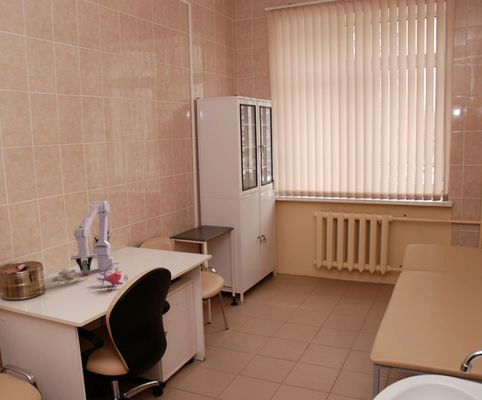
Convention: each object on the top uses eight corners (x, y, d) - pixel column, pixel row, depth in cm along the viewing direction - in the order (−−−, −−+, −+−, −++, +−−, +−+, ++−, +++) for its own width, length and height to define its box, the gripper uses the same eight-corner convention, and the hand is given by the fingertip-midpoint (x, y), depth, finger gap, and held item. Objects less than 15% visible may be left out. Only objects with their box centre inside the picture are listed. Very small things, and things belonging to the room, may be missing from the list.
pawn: (89, 271, 283) (88, 258, 282) (88, 273, 279) (87, 260, 278) (82, 272, 282) (81, 259, 281) (82, 273, 279) (80, 261, 277)
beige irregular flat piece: (95, 273, 295) (94, 267, 294) (92, 282, 278) (92, 275, 277) (57, 278, 290) (57, 271, 290) (53, 287, 274) (52, 279, 273)
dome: (72, 274, 290) (71, 266, 289) (71, 277, 285) (70, 268, 284) (62, 275, 289) (61, 267, 288) (61, 278, 284) (60, 269, 283)
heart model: (117, 294, 259) (89, 286, 265) (125, 292, 268) (98, 285, 273) (123, 266, 260) (95, 259, 265) (131, 266, 268) (104, 258, 274)
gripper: (69, 251, 273) (71, 273, 275) (95, 248, 276) (97, 271, 278) (70, 248, 280) (73, 270, 282) (96, 245, 283) (98, 267, 285)
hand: (85, 270), depth 281 cm, fingers closed on pawn, 4 cm apart
